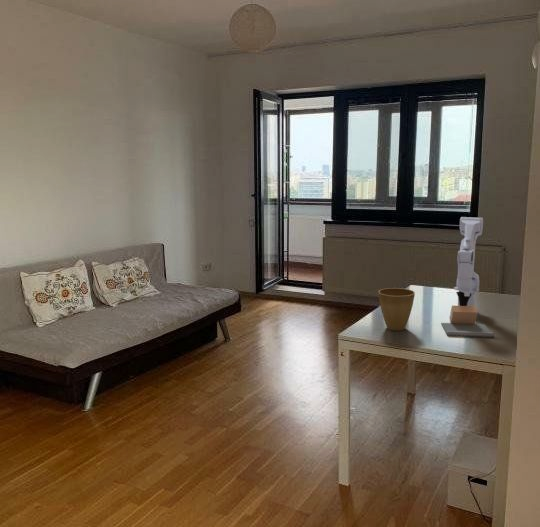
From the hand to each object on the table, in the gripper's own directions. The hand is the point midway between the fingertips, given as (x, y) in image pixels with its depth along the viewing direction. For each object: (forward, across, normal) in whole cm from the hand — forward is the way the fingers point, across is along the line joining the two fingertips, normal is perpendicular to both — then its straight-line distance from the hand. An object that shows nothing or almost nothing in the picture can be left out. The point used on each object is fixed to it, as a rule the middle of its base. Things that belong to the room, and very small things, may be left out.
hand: (462, 308), depth 234 cm
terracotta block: (+6, -1, 0) cm, 6 cm away
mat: (+7, +9, 0) cm, 12 cm away
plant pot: (+7, +9, -29) cm, 31 cm away
